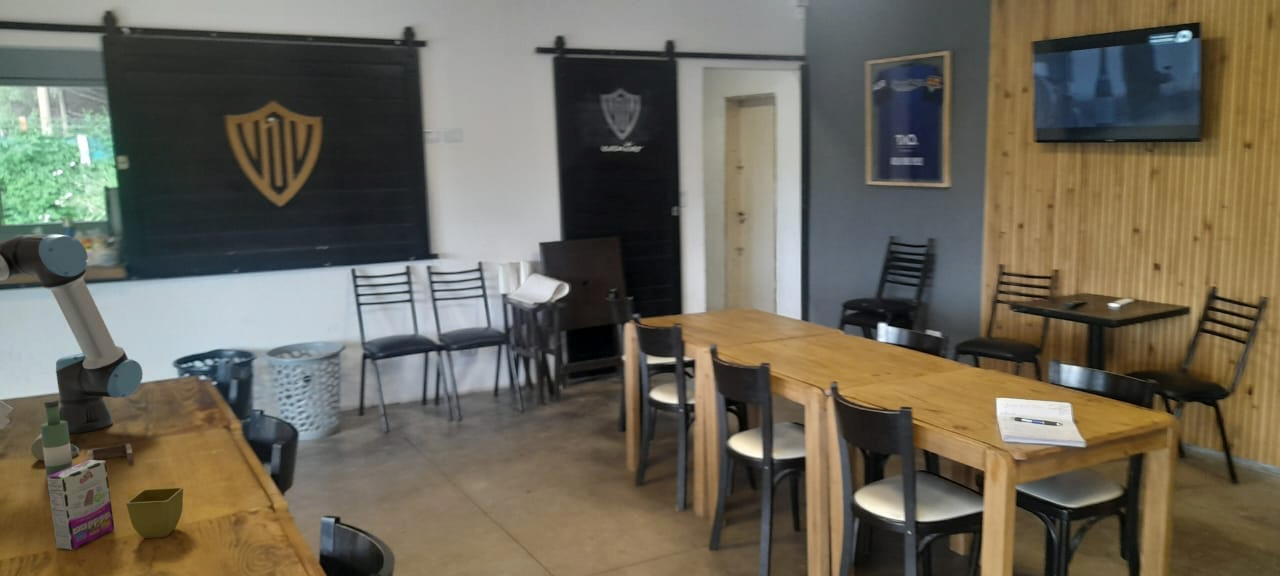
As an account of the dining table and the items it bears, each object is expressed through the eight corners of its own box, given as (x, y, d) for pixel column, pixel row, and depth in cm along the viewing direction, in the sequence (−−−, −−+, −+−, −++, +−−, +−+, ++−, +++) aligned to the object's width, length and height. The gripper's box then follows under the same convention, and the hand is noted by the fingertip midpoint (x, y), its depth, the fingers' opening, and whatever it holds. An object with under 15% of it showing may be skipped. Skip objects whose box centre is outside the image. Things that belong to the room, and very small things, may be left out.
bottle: (55, 471, 248) (46, 399, 245) (78, 470, 248) (69, 398, 245) (41, 479, 242) (32, 405, 239) (65, 478, 242) (56, 404, 239)
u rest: (88, 460, 257) (87, 449, 256) (131, 453, 262) (130, 442, 261) (89, 470, 248) (88, 459, 247) (133, 463, 253) (132, 452, 253)
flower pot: (147, 526, 208) (143, 488, 207) (187, 524, 209) (183, 486, 208) (129, 543, 200) (125, 503, 198) (171, 540, 200) (167, 501, 199)
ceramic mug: (30, 463, 255) (28, 436, 254) (40, 454, 263) (38, 428, 262) (74, 460, 258) (71, 433, 257) (82, 451, 266) (80, 425, 264)
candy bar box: (97, 528, 208) (89, 458, 206) (115, 530, 207) (107, 460, 204) (53, 549, 197) (45, 475, 195) (72, 551, 196) (63, 477, 194)
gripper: (-79, 372, 237) (-1, 419, 247) (-93, 392, 216) (-7, 442, 225) (-56, 349, 239) (20, 396, 249) (-68, 366, 218) (16, 418, 227)
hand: (7, 418), depth 237 cm, fingers open, 13 cm apart
